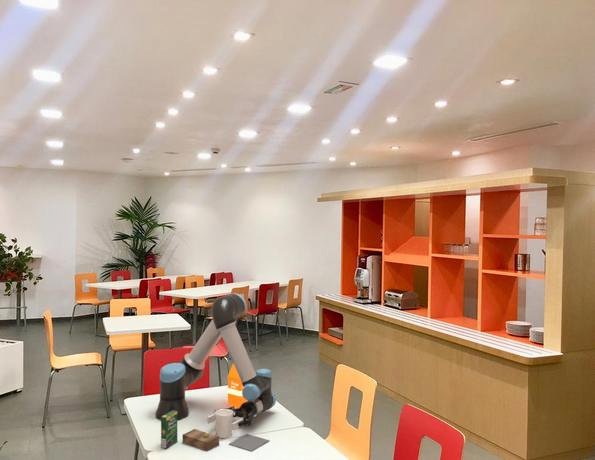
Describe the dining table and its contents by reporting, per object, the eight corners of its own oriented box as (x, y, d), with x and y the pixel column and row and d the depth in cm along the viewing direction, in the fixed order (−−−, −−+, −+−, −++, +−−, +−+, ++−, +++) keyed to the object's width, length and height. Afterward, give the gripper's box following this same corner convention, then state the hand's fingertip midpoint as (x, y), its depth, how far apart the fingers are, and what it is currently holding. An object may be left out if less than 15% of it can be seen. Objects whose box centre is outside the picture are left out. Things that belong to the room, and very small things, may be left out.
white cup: (229, 439, 213) (229, 416, 213) (211, 438, 215) (212, 414, 215) (235, 432, 221) (235, 409, 221) (218, 430, 222) (218, 408, 222)
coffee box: (166, 449, 203) (166, 417, 203) (160, 448, 204) (160, 416, 204) (177, 441, 211) (178, 410, 211) (172, 440, 212) (172, 409, 212)
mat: (228, 444, 208) (228, 443, 208) (247, 434, 218) (247, 433, 218) (251, 451, 202) (251, 450, 202) (269, 441, 212) (269, 440, 212)
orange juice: (237, 400, 262) (238, 362, 261) (250, 404, 256) (250, 364, 256) (227, 404, 255) (227, 365, 255) (240, 408, 250) (240, 368, 250)
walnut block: (182, 443, 210) (182, 431, 210) (194, 437, 216) (194, 426, 216) (207, 451, 202) (207, 439, 202) (219, 445, 208) (219, 433, 208)
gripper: (272, 422, 227) (242, 439, 209) (230, 411, 240) (198, 425, 222) (273, 405, 226) (243, 420, 209) (230, 395, 240) (198, 408, 222)
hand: (220, 423), depth 215 cm, fingers open, 13 cm apart
